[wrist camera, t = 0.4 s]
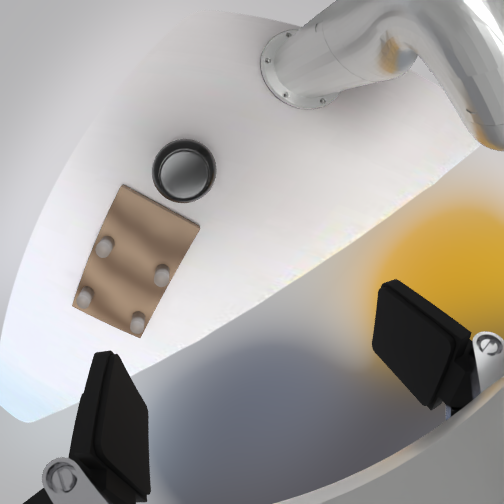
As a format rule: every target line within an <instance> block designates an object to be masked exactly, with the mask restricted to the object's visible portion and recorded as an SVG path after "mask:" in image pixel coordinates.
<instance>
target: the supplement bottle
mask: <svg viewBox="0 0 504 504" xmlns="http://www.w3.org/2000/svg"><path fill="white" fill-rule="evenodd" d="M152 178H153V182H154V184H155V186H156V188H157V190H158V191H159V192H160V193H161V194H162V195H163V196H164V197H165V198H167V199H169V200H171V201H173V202H177V203H189V202H193V201H196V200H198V199H200V198H201V197H203V196H204V195H205V194H206V193H207V192H208V191H209V190H210V189H211V187H212V186H213V183H214V181H215V178H216V162H215V159H214V157H213V155H212V153H211V152H210V150H209V149H208V148H207V147H206V146H204V145H203V144H201V143H200V142H197V141H195V140H190V139H180V140H176V141H173V142H171V143H169V144H167V145H166V146H165V147H163V148H162V149H161V150H160V152H159V153H158V154H157V156H156V158H155V160H154V163H153V167H152Z"/></svg>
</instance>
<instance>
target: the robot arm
mask: <svg viewBox="0 0 504 504" xmlns="http://www.w3.org/2000/svg"><path fill="white" fill-rule="evenodd" d="M287 36H288V37H287ZM417 55H418V56H419V57H420V58H421V59H422V60H423V61H424V63H425V64H426V65H427V67H428V68H429V70H430V71H431V72H432V73H433V74H434V76H435V77H436V79H437V80H438V81H439V83H440V85H441V86H442V88H443V90H444V91H445V93H446V94H447V96H448V98H449V99H450V101H451V103H452V104H453V106H454V108H455V109H456V111H457V113H458V114H459V116H460V118H461V120H462V121H463V123H464V125H465V126H466V128H467V129H468V131H469V132H470V133H471V135H472V136H473V137H474V138H475V139H476V140H477V141H478V142H479V143H481V144H482V145H484V146H486V147H488V148H490V149H493V150H497V151H504V0H336V1H335V2H334V3H332V4H331V5H330V6H329V7H327V8H326V9H325V10H323V11H322V12H321V13H320V14H318V15H317V16H315V17H314V18H313V19H312V20H310V21H309V22H308V23H307V24H305V25H304V26H303V27H302V28H301V29H299V30H288V31H285V32H282V33H280V34H278V35H276V36H275V37H274V38H272V39H271V40H270V41H269V43H268V44H267V45H266V46H265V48H264V50H263V52H262V57H261V71H262V75H263V78H264V80H265V83H266V84H267V86H268V87H269V89H270V90H271V91H272V92H273V93H274V95H275V96H276V97H278V98H279V99H280V100H282V101H283V102H285V103H287V104H288V105H290V106H293V107H296V108H301V109H316V108H320V107H324V106H326V105H328V104H330V103H331V102H333V101H334V100H335V99H336V98H337V97H338V95H339V94H340V92H341V91H343V90H347V89H351V88H355V87H359V86H363V85H368V84H372V83H377V82H381V81H386V80H391V79H394V78H397V77H399V76H401V75H403V74H404V73H405V72H407V71H408V70H409V69H410V68H411V66H412V65H413V63H414V62H415V60H416V58H417ZM265 61H268V63H266V62H265ZM283 94H285V96H286V97H284V96H283ZM320 100H321V102H320ZM470 336H471V332H470V331H468V330H467V329H466V328H465V327H463V326H462V325H461V324H459V323H458V322H457V321H455V320H454V319H453V318H451V317H450V316H448V315H447V314H446V313H444V312H443V311H442V310H440V309H439V308H437V307H436V306H435V305H433V304H432V303H431V302H429V301H428V300H426V299H425V298H423V297H422V296H421V295H419V294H418V293H416V292H414V291H413V290H412V289H411V288H409V287H408V286H406V285H405V284H403V283H402V282H400V281H399V280H397V279H396V280H395V279H394V280H392V281H389V282H386V283H383V284H382V286H381V288H380V289H379V291H378V300H377V310H376V318H375V326H374V334H373V340H372V347H373V350H374V351H375V353H376V354H377V355H378V356H379V357H380V358H381V359H382V361H383V362H384V363H385V364H386V365H387V366H388V367H389V368H390V369H391V370H392V371H393V373H394V374H395V375H396V376H397V377H398V378H399V379H400V380H401V381H402V383H403V384H404V385H405V386H406V387H407V388H408V389H409V390H410V391H411V393H412V394H413V395H414V396H415V397H416V398H417V399H418V400H419V402H420V403H421V404H422V405H424V406H428V407H429V409H430V410H433V409H434V408H436V407H437V406H439V405H440V404H441V403H442V401H443V402H444V403H445V404H446V421H445V422H443V423H442V424H441V425H439V426H438V427H437V428H435V429H433V430H432V431H431V432H429V433H428V434H426V435H425V436H423V437H422V438H420V439H418V440H417V441H415V442H414V443H412V444H410V445H409V446H407V447H405V448H404V449H402V450H400V451H399V452H397V453H395V454H393V455H392V456H390V457H388V458H386V459H384V460H382V461H380V462H378V463H377V464H374V465H373V466H371V467H369V468H367V469H364V470H363V471H360V472H358V473H356V474H354V475H352V476H349V477H347V478H345V479H343V480H340V481H338V482H336V483H333V484H330V485H328V486H325V487H323V488H320V489H318V490H315V491H312V492H309V493H306V494H303V495H300V496H297V497H294V498H291V499H288V500H284V501H281V502H277V503H274V504H504V340H503V339H502V338H501V337H500V336H498V335H497V334H494V333H492V332H480V333H478V334H476V335H475V336H474V338H473V341H471V340H470V339H469V338H470ZM149 471H150V470H149V442H148V409H147V406H146V404H145V402H144V401H143V399H142V397H141V396H140V394H139V392H138V390H137V389H136V387H135V385H134V383H133V382H132V380H131V378H130V376H129V374H128V372H127V370H126V368H125V366H124V364H123V363H122V361H121V359H120V357H119V355H118V354H114V353H113V352H112V351H104V352H97V353H95V354H94V357H93V360H92V364H91V367H90V371H89V375H88V378H87V382H86V386H85V390H84V393H83V394H82V396H81V399H80V403H79V407H78V412H77V416H76V421H75V425H74V431H73V435H72V441H71V447H70V453H69V458H64V457H62V458H56V459H54V460H52V461H51V462H49V463H48V464H47V465H46V467H45V469H44V470H43V474H42V483H43V486H44V488H43V489H42V490H40V491H39V492H38V493H36V494H35V495H34V496H32V497H31V498H30V499H28V500H27V501H26V502H24V503H23V504H136V502H147V495H149V494H150V492H151V487H150V472H149Z"/></svg>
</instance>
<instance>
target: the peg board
mask: <svg viewBox="0 0 504 504" xmlns="http://www.w3.org/2000/svg"><path fill="white" fill-rule="evenodd" d="M199 230H200V226H199V225H197V224H195V223H193V222H191V221H190V220H188V219H186V218H184V217H182V216H180V215H179V214H177V213H175V212H173V211H171V210H169V209H167V208H166V207H164V206H162V205H160V204H158V203H156V202H155V201H153V200H151V199H149V198H147V197H145V196H144V195H142V194H140V193H138V192H136V191H134V190H132V189H131V188H129V187H127V186H125V185H122V186H121V187H120V189H119V191H118V193H117V195H116V197H115V199H114V201H113V203H112V205H111V208H110V210H109V212H108V214H107V216H106V218H105V221H104V223H103V225H102V227H101V230H100V232H99V234H98V237H97V239H96V241H95V244H94V246H93V249H92V251H91V254H90V256H89V259H88V262H87V264H86V267H85V270H84V272H83V275H82V278H81V281H80V283H79V286H78V289H77V292H76V295H75V298H74V301H73V305H72V306H73V307H75V308H77V309H79V310H81V311H83V312H85V313H87V314H88V315H91V316H93V317H95V318H97V319H99V320H101V321H103V322H105V323H107V324H109V325H111V326H114V327H116V328H118V329H120V330H122V331H125V332H127V333H129V334H131V335H134V336H136V337H138V338H141V336H142V334H143V332H144V330H145V328H146V326H147V324H148V322H149V320H150V318H151V316H152V314H153V312H154V311H155V309H156V307H157V305H158V303H159V301H160V299H161V297H162V296H163V294H164V292H165V290H166V288H167V286H168V285H169V283H170V281H171V279H172V277H173V275H174V274H175V272H176V270H177V268H178V267H179V265H180V263H181V261H182V259H183V258H184V256H185V254H186V252H187V251H188V249H189V247H190V245H191V244H192V242H193V240H194V239H195V237H196V235H197V233H198V232H199Z"/></svg>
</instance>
